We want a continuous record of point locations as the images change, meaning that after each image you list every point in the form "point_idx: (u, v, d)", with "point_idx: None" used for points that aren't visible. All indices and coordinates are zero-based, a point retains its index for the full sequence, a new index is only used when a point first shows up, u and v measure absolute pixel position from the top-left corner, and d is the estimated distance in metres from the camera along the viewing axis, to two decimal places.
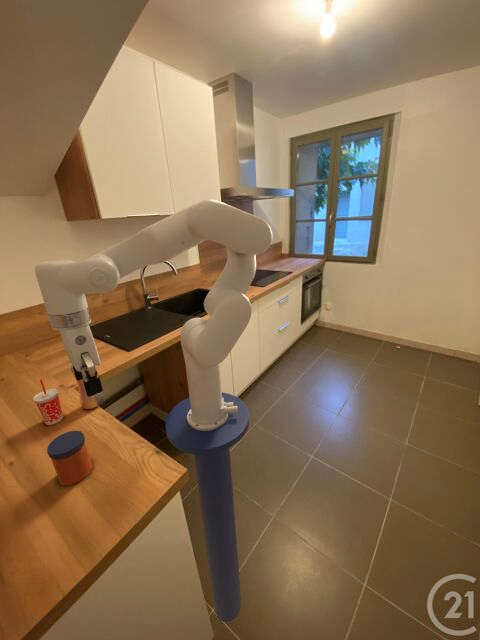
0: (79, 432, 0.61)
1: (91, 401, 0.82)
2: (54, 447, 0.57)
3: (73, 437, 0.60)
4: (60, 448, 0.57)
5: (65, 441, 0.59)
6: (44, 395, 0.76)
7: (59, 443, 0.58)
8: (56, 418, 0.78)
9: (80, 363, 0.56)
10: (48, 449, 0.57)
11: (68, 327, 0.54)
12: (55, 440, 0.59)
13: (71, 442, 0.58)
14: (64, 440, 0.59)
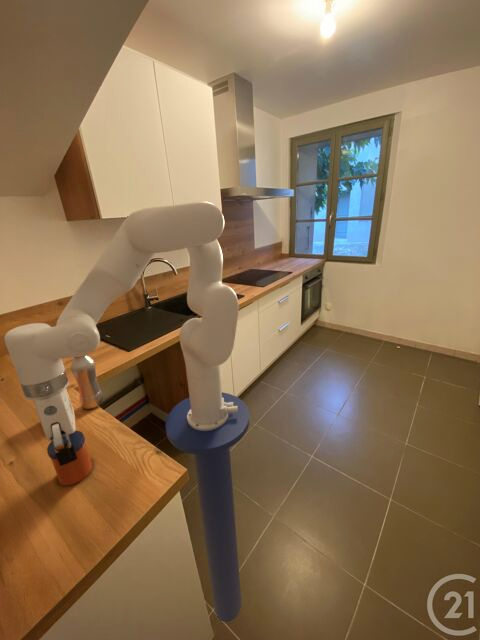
0: (79, 432, 0.61)
1: (91, 401, 0.82)
2: None
3: (73, 437, 0.60)
4: None
5: (65, 441, 0.59)
6: None
7: None
8: None
9: (50, 434, 0.52)
10: (48, 449, 0.57)
11: (38, 397, 0.50)
12: None
13: (71, 442, 0.58)
14: (64, 440, 0.59)
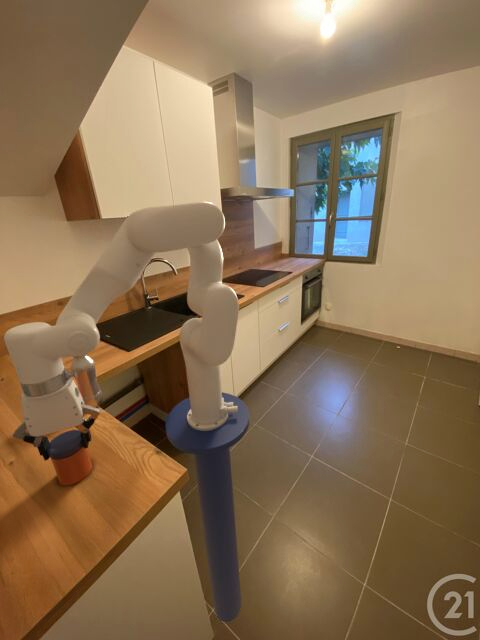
0: (60, 435, 0.61)
1: (91, 401, 0.82)
2: (65, 447, 0.57)
3: (64, 437, 0.60)
4: (72, 442, 0.58)
5: (64, 441, 0.59)
6: None
7: (62, 445, 0.57)
8: None
9: (82, 413, 0.57)
10: (64, 451, 0.56)
11: (65, 384, 0.54)
12: (53, 450, 0.56)
13: (71, 436, 0.60)
14: (61, 443, 0.58)
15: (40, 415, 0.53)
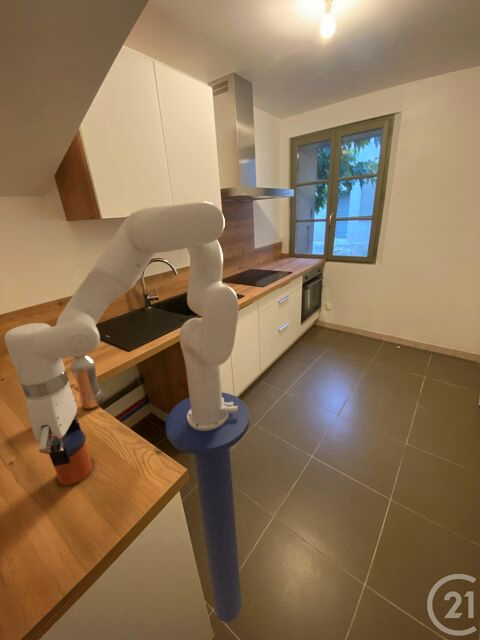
0: None
1: (91, 401, 0.82)
2: (77, 437, 0.60)
3: None
4: (73, 435, 0.60)
5: (66, 441, 0.59)
6: None
7: (71, 440, 0.59)
8: None
9: None
10: (82, 436, 0.60)
11: None
12: (73, 445, 0.57)
13: None
14: (66, 443, 0.58)
15: (63, 409, 0.54)
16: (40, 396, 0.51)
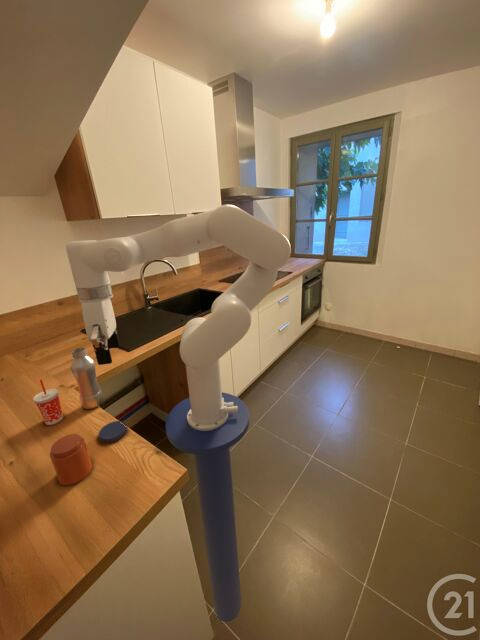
0: (100, 435, 0.71)
1: (91, 401, 0.82)
2: (121, 426, 0.74)
3: (106, 431, 0.72)
4: (117, 425, 0.74)
5: (112, 429, 0.73)
6: (44, 395, 0.76)
7: (117, 429, 0.73)
8: (56, 418, 0.78)
9: None
10: None
11: None
12: (119, 433, 0.71)
13: (109, 427, 0.73)
14: (113, 431, 0.72)
15: (109, 316, 0.65)
16: (93, 299, 0.61)
